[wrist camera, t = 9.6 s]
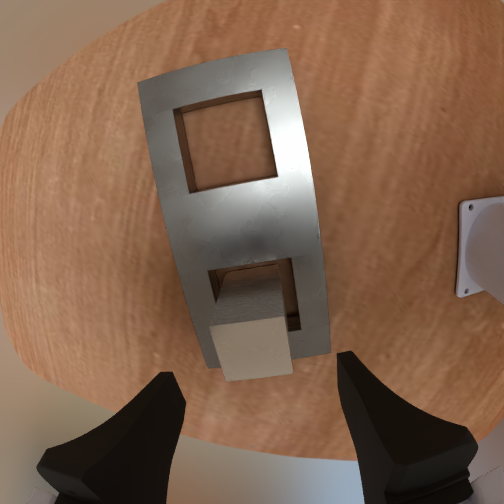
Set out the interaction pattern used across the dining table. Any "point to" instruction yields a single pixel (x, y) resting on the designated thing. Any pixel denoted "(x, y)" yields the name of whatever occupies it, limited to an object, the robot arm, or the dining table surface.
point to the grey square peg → (252, 325)
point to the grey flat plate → (238, 193)
